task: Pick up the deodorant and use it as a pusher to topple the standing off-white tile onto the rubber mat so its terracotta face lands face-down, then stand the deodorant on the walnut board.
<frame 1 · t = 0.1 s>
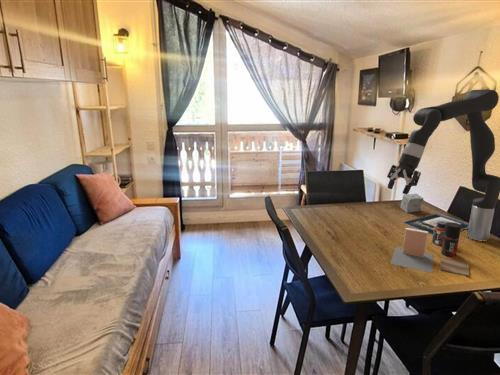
hand: (396, 191, 141), 31 cm above the table, tool tilted 20°, fingers open, 8 cm apart
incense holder: (410, 211, 207), on the table
dark picture frame: (437, 226, 185), on the table
rest board: (453, 267, 140), on the table
deodorant: (448, 255, 151), on the table
tile: (413, 254, 151), resting on mat
supplement bottle: (438, 244, 162), on the table
mat: (412, 260, 147), on the table
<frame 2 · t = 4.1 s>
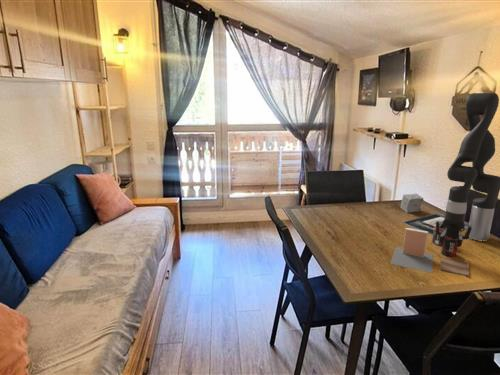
hand: (449, 244, 150), 5 cm above the table, tool pointing down, fingers closed on deodorant, 6 cm apart
deodorant: (448, 255, 151), on the table, touching gripper
everything else where it was.
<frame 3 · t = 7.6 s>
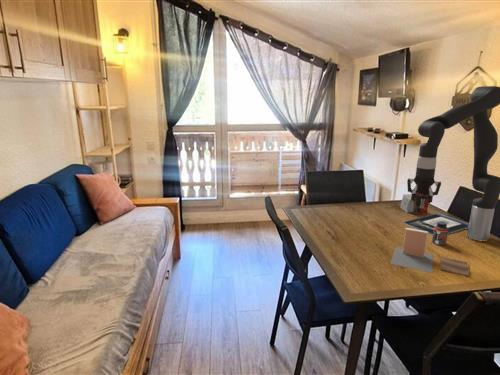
hand: (421, 201, 152), 23 cm above the table, tool pointing down, fingers closed on deodorant, 6 cm apart
deodorant: (419, 212, 154), point 18 cm above the table, touching gripper
everything else where it was.
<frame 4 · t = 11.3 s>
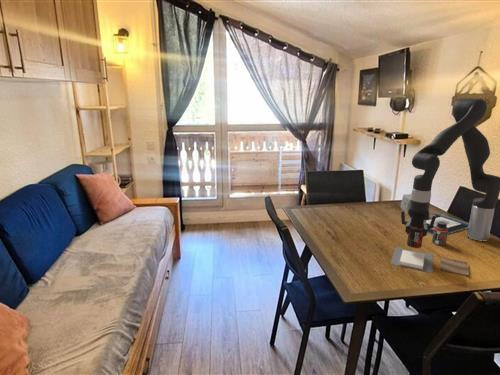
hand: (415, 234, 148), 11 cm above the table, tool pointing down, fingers closed on deodorant, 6 cm apart
deodorant: (414, 245, 149), point 5 cm above the table, touching gripper
tile: (413, 253, 150), point 1 cm above the table, tilted 90°, touching mat
everything else where it was.
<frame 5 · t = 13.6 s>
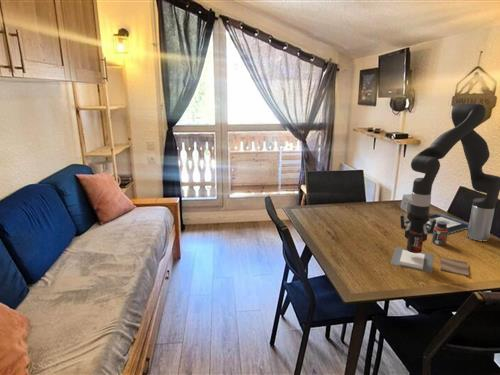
hand: (415, 239, 143), 10 cm above the table, tool pointing down, fingers closed on deodorant, 6 cm apart
deodorant: (413, 250, 145), point 5 cm above the table, touching gripper
everything else where it was.
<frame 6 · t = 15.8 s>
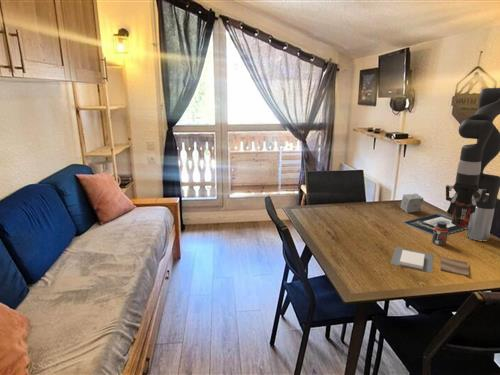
hand: (461, 211, 134), 25 cm above the table, tool pointing down, fingers closed on deodorant, 6 cm apart
deodorant: (459, 224, 135), point 20 cm above the table, touching gripper
everything else where it was.
when the fingers open (7 cm above the table, at t = 19.9 s): deodorant drops 1 cm, resting on rest board.
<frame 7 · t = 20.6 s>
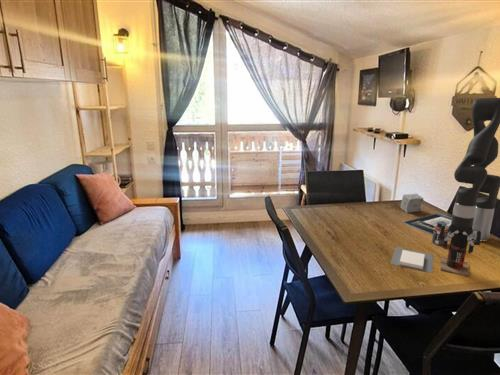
hand: (457, 250, 138), 8 cm above the table, tool pointing down, fingers open, 8 cm apart
deodorant: (454, 266, 140), point 1 cm above the table, touching rest board
everything else where it was.
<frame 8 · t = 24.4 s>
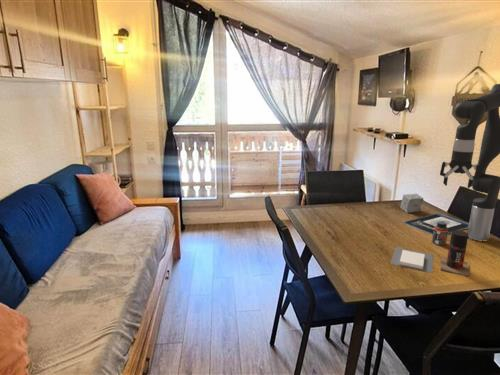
hand: (456, 186, 144), 32 cm above the table, tool pointing down, fingers open, 8 cm apart
nothing on the table moved.
at the end: tile tilted 90°; deodorant inside the target area on the rest board (0.0 cm from its centre), point 0.8 cm above the rest board's base; deodorant tilted 0° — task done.
